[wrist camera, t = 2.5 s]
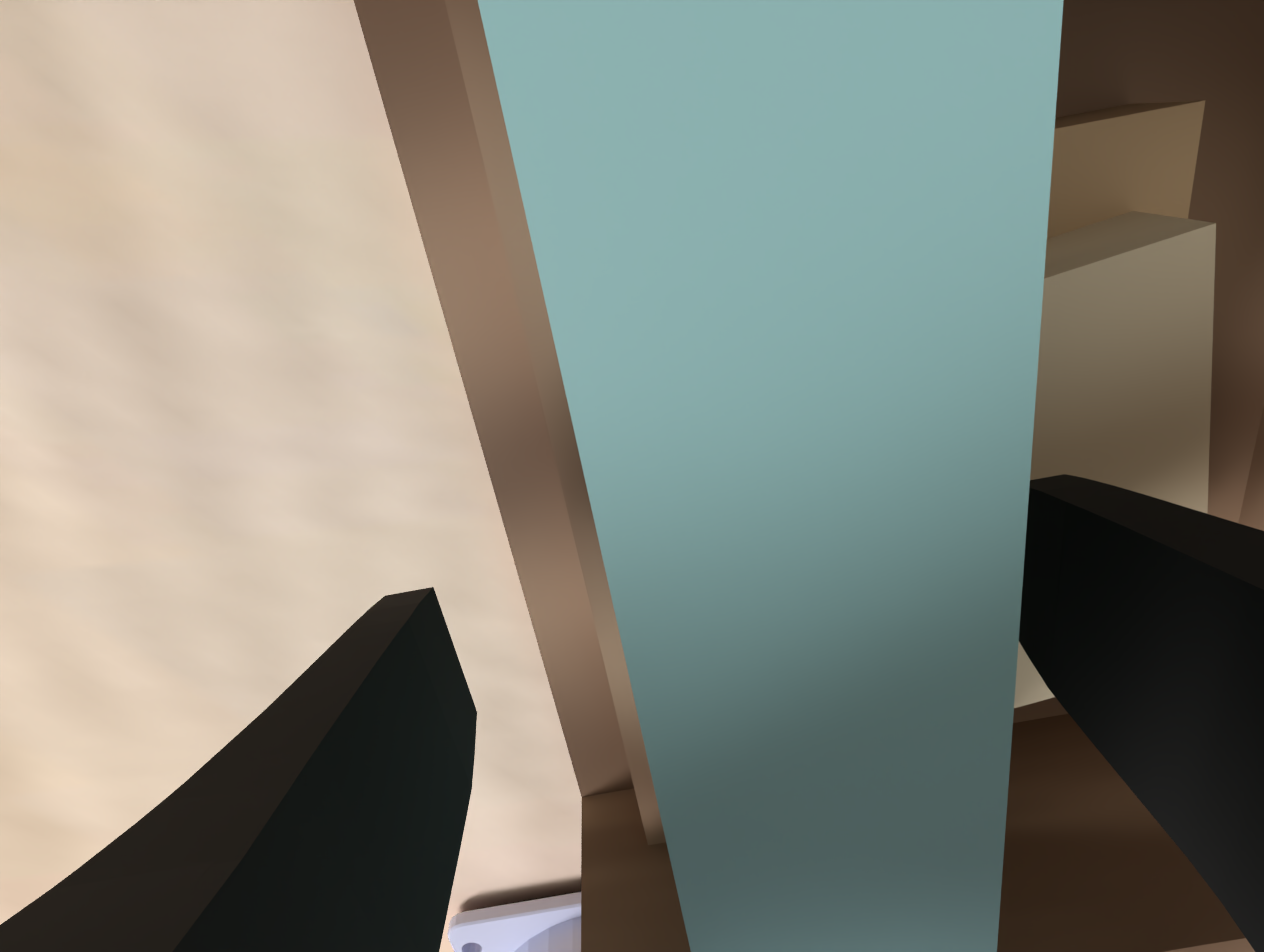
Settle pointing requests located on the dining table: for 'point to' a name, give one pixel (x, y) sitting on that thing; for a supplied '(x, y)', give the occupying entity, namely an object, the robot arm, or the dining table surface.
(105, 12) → the dining table surface
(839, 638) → the teal sheet
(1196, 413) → the ash offcut
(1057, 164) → the oak offcut
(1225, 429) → the walnut rack
